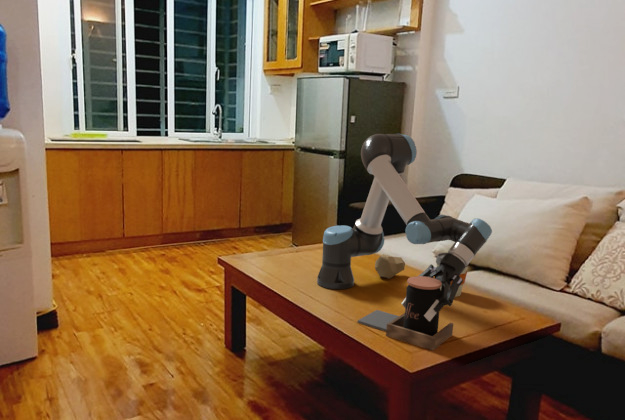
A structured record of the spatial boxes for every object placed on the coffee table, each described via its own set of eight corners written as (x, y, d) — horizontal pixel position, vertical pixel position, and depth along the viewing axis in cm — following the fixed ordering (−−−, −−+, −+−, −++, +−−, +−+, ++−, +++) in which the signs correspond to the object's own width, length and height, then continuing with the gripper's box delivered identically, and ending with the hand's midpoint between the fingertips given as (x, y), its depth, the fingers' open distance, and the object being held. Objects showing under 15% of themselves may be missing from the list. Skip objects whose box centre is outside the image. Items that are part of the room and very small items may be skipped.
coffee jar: (399, 328, 175) (403, 275, 172) (431, 328, 176) (435, 276, 173) (408, 342, 165) (412, 286, 161) (441, 342, 166) (446, 287, 162)
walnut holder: (386, 335, 169) (386, 324, 168) (407, 322, 181) (408, 310, 180) (433, 350, 160) (434, 338, 159) (452, 335, 171) (453, 323, 171)
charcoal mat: (357, 322, 178) (357, 320, 178) (376, 311, 189) (376, 309, 189) (389, 332, 171) (389, 330, 171) (407, 320, 182) (407, 318, 182)
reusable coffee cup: (464, 300, 204) (467, 262, 202) (431, 295, 209) (434, 258, 206) (466, 290, 216) (470, 254, 213) (435, 285, 220) (438, 250, 217)
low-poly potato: (373, 281, 224) (397, 273, 218) (366, 256, 227) (390, 248, 222) (387, 282, 236) (411, 274, 231) (381, 259, 240) (404, 251, 234)
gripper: (488, 276, 164) (445, 332, 159) (437, 257, 184) (398, 306, 179) (477, 262, 160) (433, 318, 156) (427, 244, 180) (386, 293, 176)
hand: (414, 312), depth 168 cm, fingers closed on coffee jar, 11 cm apart
